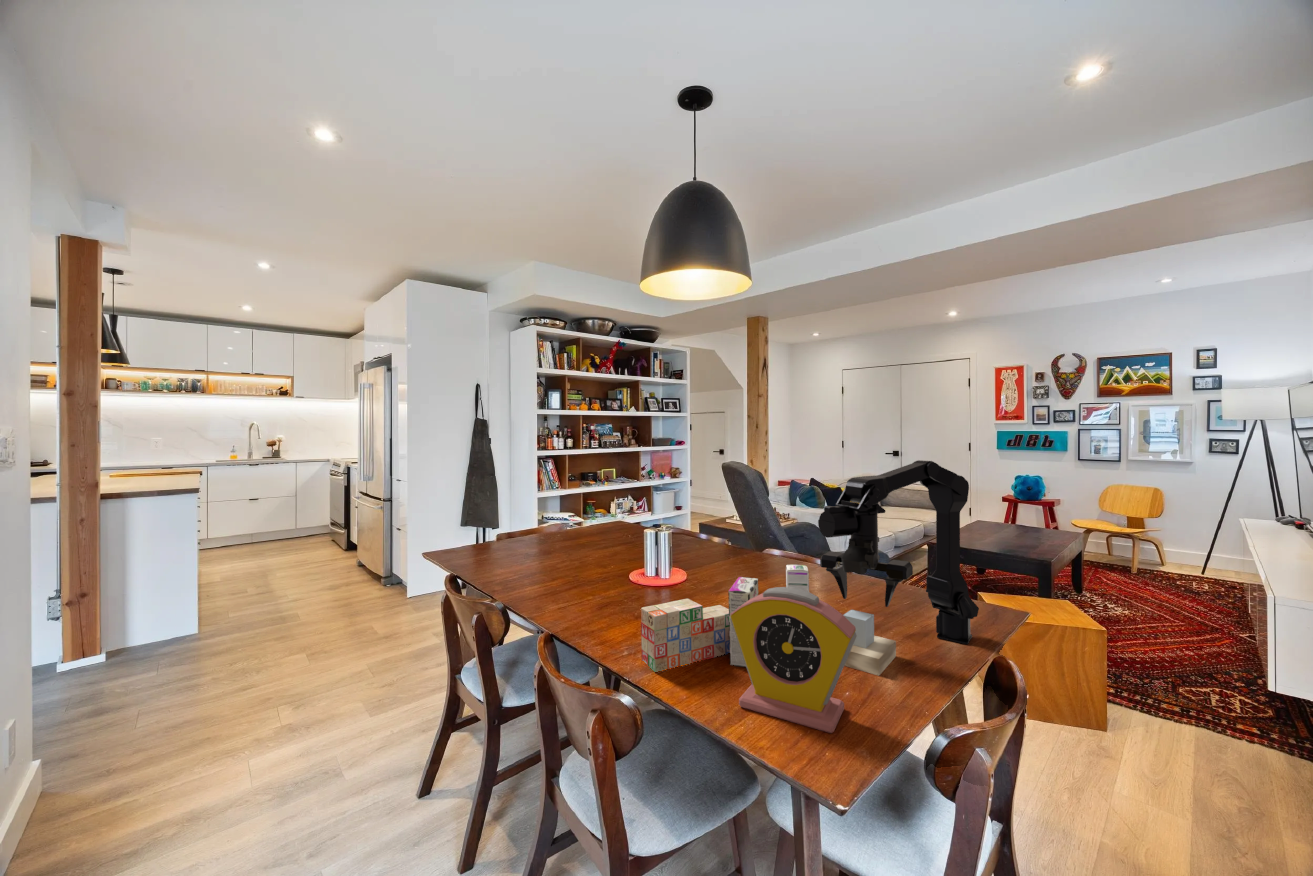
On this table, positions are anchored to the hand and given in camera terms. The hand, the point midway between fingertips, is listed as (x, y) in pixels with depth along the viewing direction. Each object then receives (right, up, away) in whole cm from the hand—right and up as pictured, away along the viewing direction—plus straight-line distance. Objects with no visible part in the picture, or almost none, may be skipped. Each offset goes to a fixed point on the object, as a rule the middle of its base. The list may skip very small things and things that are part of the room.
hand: (865, 602), depth 114 cm
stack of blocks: (-40, -12, -1) cm, 42 cm away
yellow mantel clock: (-23, -12, -23) cm, 34 cm away
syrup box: (-10, -12, +20) cm, 25 cm away
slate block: (-2, -8, -2) cm, 9 cm away
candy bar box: (-28, -12, -1) cm, 30 cm away
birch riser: (-2, -12, -2) cm, 13 cm away
